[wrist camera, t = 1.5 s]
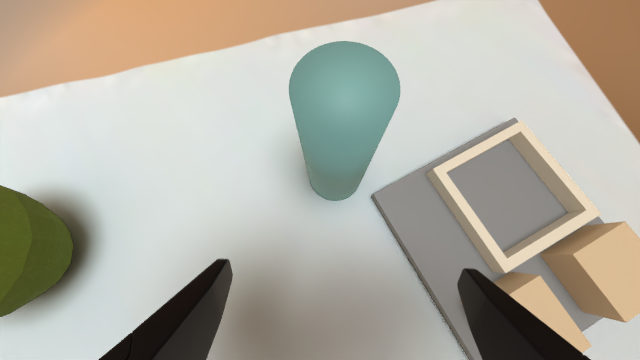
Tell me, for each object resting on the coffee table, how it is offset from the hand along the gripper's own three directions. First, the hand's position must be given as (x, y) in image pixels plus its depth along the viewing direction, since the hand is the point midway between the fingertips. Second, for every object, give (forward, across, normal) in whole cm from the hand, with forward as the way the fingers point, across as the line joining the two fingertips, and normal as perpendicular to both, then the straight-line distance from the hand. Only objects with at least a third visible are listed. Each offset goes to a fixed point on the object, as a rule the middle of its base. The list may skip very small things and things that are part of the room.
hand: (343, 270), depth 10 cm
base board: (+11, -15, +8) cm, 20 cm away
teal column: (+15, 0, +4) cm, 16 cm away
